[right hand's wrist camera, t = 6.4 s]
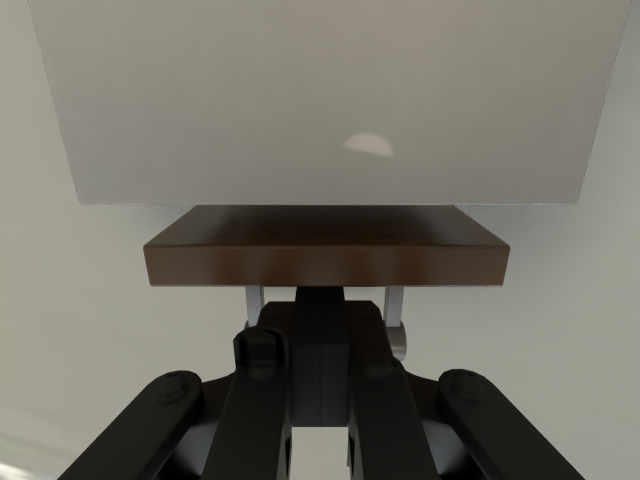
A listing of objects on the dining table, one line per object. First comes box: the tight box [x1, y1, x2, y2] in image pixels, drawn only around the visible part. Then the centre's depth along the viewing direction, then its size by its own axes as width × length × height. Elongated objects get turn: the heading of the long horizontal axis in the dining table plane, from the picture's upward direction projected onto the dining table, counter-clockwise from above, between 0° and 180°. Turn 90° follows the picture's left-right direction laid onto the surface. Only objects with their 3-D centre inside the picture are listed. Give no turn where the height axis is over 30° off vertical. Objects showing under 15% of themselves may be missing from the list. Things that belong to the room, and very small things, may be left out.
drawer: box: [143, 205, 510, 361], centre depth 11 cm, size 21×9×8 cm, turn 0°
